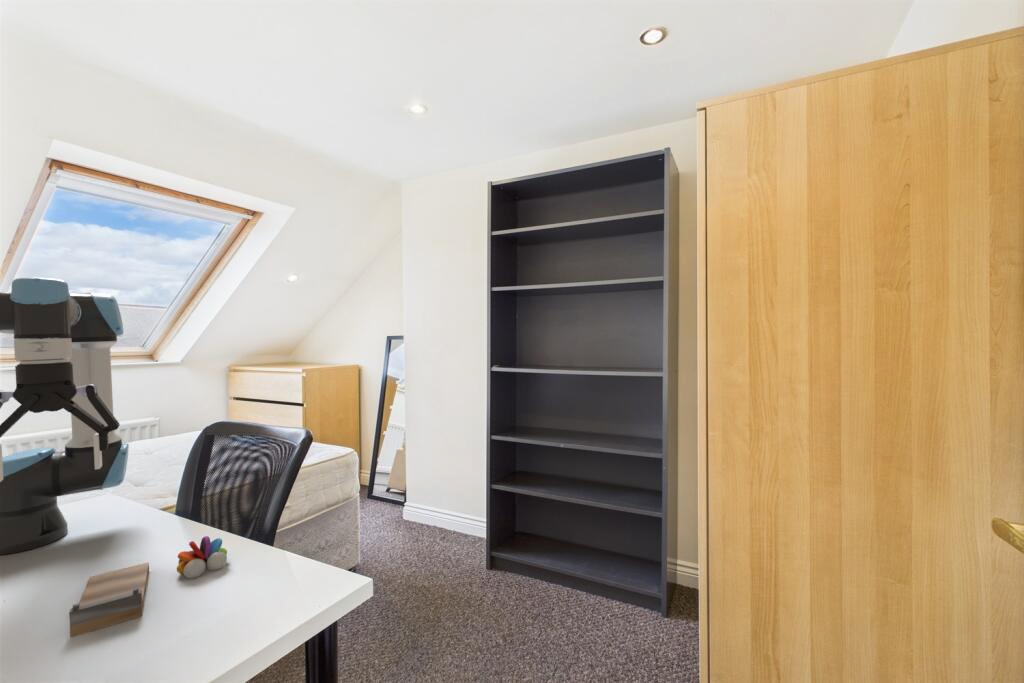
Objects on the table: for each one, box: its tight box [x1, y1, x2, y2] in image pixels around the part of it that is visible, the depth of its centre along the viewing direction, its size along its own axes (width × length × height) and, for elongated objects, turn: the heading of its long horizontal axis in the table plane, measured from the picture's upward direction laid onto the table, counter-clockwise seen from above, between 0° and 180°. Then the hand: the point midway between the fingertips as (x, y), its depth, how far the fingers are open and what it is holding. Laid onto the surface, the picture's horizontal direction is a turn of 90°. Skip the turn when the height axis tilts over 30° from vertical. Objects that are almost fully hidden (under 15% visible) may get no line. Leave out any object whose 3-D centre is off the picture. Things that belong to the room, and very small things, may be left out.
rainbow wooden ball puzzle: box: [176, 535, 228, 579], centre depth 105 cm, size 8×10×7 cm
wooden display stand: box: [68, 562, 150, 638], centre depth 93 cm, size 20×10×5 cm, turn 35°
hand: (50, 474), depth 87 cm, fingers open, 13 cm apart
